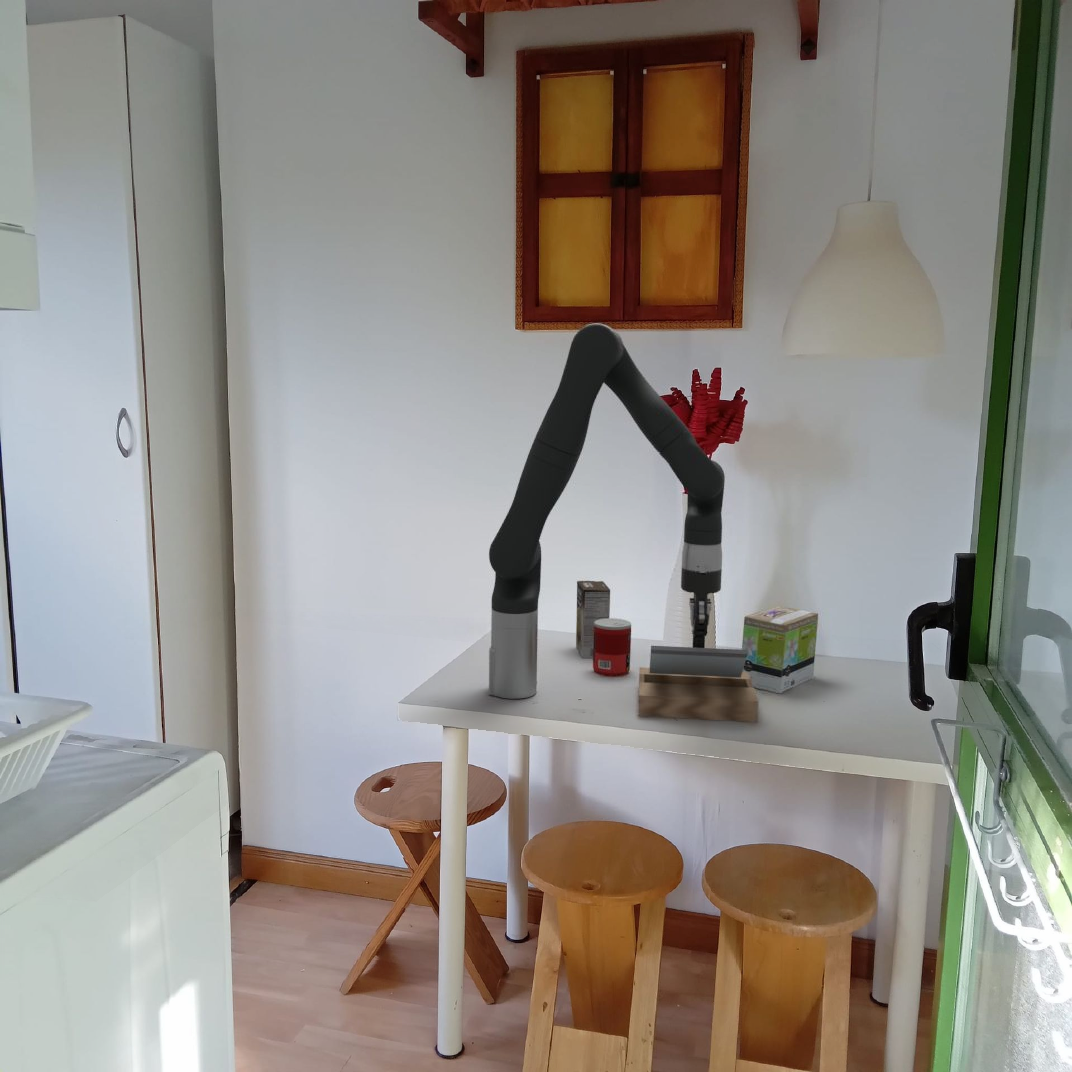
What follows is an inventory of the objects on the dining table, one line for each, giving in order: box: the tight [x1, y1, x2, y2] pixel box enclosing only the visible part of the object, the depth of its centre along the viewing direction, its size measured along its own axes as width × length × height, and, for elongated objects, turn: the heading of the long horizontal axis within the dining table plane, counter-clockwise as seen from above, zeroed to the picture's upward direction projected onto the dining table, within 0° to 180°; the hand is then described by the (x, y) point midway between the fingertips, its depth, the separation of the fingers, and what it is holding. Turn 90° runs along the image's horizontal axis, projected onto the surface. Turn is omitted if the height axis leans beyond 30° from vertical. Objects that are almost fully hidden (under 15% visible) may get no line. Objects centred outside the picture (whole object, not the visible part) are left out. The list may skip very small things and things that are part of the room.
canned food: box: [592, 617, 632, 678], centre depth 210 cm, size 8×8×11 cm
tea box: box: [741, 605, 819, 694], centre depth 205 cm, size 15×10×15 cm
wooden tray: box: [637, 667, 759, 723], centre depth 191 cm, size 22×18×4 cm
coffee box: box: [575, 580, 611, 659], centre depth 224 cm, size 9×6×16 cm
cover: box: [649, 645, 748, 678], centre depth 189 cm, size 18×13×1 cm
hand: (698, 653), depth 187 cm, fingers closed
